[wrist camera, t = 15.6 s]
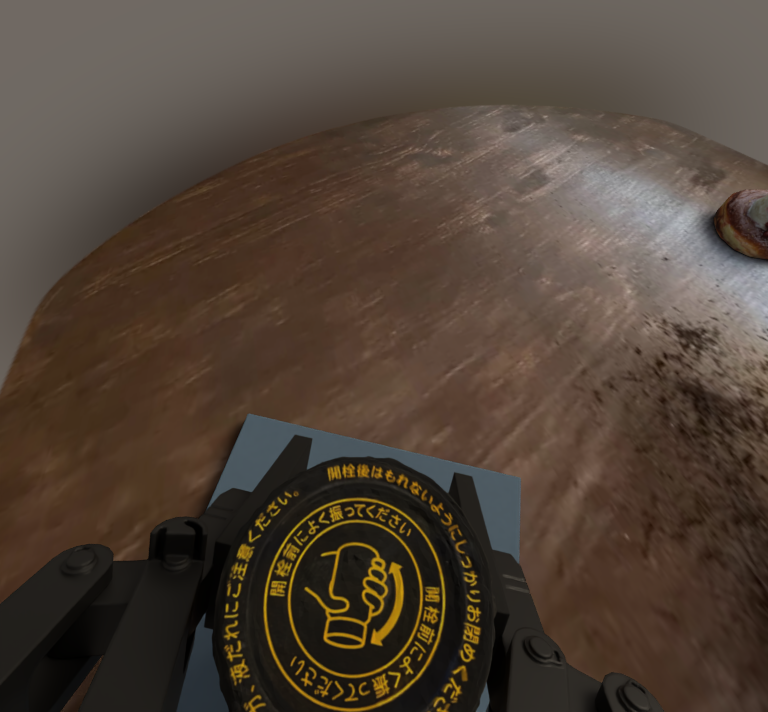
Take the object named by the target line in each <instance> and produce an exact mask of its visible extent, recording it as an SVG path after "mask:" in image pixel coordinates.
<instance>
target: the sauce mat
mask: <svg viewBox="0 0 768 712" xmlns="http://www.w3.org/2000/svg"><path fill="white" fill-rule="evenodd" d="M295 434H296V435H300V436H304V437H308V438H313V439H312V445H311V450H310V455H309V461H308V466H307V469H309V468H311V467H314V466H316V465H317V464H320V463H321V462H325V461H328V460H332V459H335V458H339V457H344V456H345V457H367V456H371V457H374V458H388V457H389V458H393V459H396V460H398V461H400V462H401V463H403V464H404V465H406V466H408V467H410V468H413V469H414V470H416V471H418V472H420V473H423V474H425V475H427V476H428V477H430V478H432V479H433V480H434V481H435V482H436V483H437V484H438V485H439V486H440V487H441V488H442V489H443V490H445V491H446V492H447V493H448V492H449V489H450V485H451V482H452V478H453V475H454V472H456V473H461V474H465V475H469V476H472V477H473V481H474V484H475V488H476V492H477V495H478V499H479V503H480V506H481V510H482V514H483V517H484V521H485V525H486V528H487V532H488V536H489V539H490V543H491V547H492V549H493V550H497V551H501V552H505V553H509V554H511V555H512V556H513V557H514V559H515V560H516V561H517V562H518V564H519V541H520V490H521V479H520V478H519V477H515V476H511V475H506V474H502V473H498V472H494V471H489V470H485V469H481V468H477V467H472V466H468V465H464V464H460V463H456V462H451V461H447V460H443V459H439V458H434V457H430V456H426V455H422V454H417V453H413V452H409V451H405V450H401V449H396V448H392V447H388V446H384V445H379V444H375V443H371V442H367V441H362V440H358V439H354V438H350V437H346V436H341V435H337V434H333V433H329V432H324V431H320V430H316V429H312V428H308V427H303V426H299V425H295V424H291V423H286V422H282V421H278V420H274V419H269V418H265V417H261V416H257V415H253V414H248V415H247V417H246V420H245V422H244V424H243V427H242V429H241V431H240V433H239V436H238V438H237V440H236V443H235V445H234V447H233V450H232V452H231V454H230V457H229V459H228V461H227V463H226V466H225V468H224V470H223V473H222V475H221V477H220V480H219V482H218V484H217V486H216V489H215V491H214V493H213V496H212V498H211V500H210V503H209V505H208V507H209V506H211V504H212V503H213V502H214V501H215V500H216V498H217V497H218V496H219V495H220V494H222V493H224V492H226V491H228V490H230V489H231V488H237V489H241V490H245V491H249V492H252V491H253V490H254V489H255V487H256V486H257V485H258V483H259V482H260V481H261V479H262V478H263V477H264V475H265V474H266V473H267V471H268V470H269V469H270V467H271V466H272V465H273V463H274V462H275V461H276V459H277V458H278V457H279V455H280V454H281V452H282V451H283V450H284V448H285V447H286V446H287V444H288V443H289V442H290V440H291V439H292V438H293V436H294V435H295ZM208 507H207V509H208ZM207 509H206V510H207ZM205 615H206V613H205V614H204V616H203V618H202V619H201V621H200V622H199V624H198V626H197V627H196V633H195V641H194V645H193V649H192V653H191V656H190V660H189V664H188V668H187V672H186V676H185V680H184V684H183V688H182V692H181V696H180V700H179V703H178V707H177V711H176V712H229V710H228V706H227V703H226V701H225V698H224V696H223V694H222V692H221V690H220V685H219V674H218V671H217V668H216V665H215V661H214V658H213V652H212V633H213V630H212V629H208V628H204V623H205ZM489 701H490V700H489V694H488V688H487V682H486V685H485V688H484V691H483V693H482V695H481V698H480V705H479V707H478V708H477V710H476V712H486V709H487V707H488V704H489Z"/></svg>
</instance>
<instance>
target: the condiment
mask: <svg viewBox="0 0 768 712" xmlns="http://www.w3.org/2000/svg"><path fill="white" fill-rule="evenodd" d="M492 580H493V579H492V577H491V571H490V566H489V562H488V559H487V557H486V555H485V553H484V549H483V547H482V545H481V542H480V540H479V538H478V536H477V534H476V532H475V530H474V528H473V527H472V525H471V524H470V522H469V520H468V519H467V517H466V515H465V514H464V512H463V511H462V509H461V508H460V507H459V506H458V504H457V503H456V502H455V500H454V499H453V498H452V497H451V496H450V494H449V493H447V492H446V491H445V490H443V489H442V488H441V487H440V486H439V485H438V484H437V483H436V482H435V481H434V480H433V479H432V478H430V477H428V476H427V475H425V474H423V473H420V472H418V471H416V470H414V469H413V468H410V467H408V466H406V465H404V464H403V463H401V462H400V461H398V460H396V459H393V458H389V457H388V458H374V457H371V456H367V457H345V456H344V457H339V458H335V459H332V460H328V461H325V462H321V463H320V464H317V465H316V466H314V467H311V468H309V469H307V470H304V471H301V472H300V473H298V474H297V475H295V476H294V477H292V478H290V479H288V480H287V481H285V482H283V483H282V484H281V485H279V486H278V487H277V488H275V489H274V490H273V491H272V492H271V493H270V494H269V496H268V497H267V499H266V500H265V501H264V503H263V504H262V505H261V506H260V507H259V508H257V509H256V510H255V511H254V513H253V515H252V516H251V517H250V519H249V520H248V521H247V522H246V523H245V524H244V525H243V526H242V527H241V528H240V529H239V531H238V533H237V535H236V537H235V539H234V541H233V543H232V545H231V547H230V550H229V552H228V555H227V558H226V561H225V564H224V567H223V570H222V573H221V578H220V582H219V587H218V591H217V595H216V600H215V605H216V606H215V615H214V628H213V633H212V652H213V658H214V661H215V665H216V668H217V671H218V674H219V685H220V690H221V692H222V694H223V696H224V698H225V701H226V703H227V706H228V710H229V712H476V710H477V708H478V707H479V705H480V697H481V695H482V693H483V691H484V688H485V685H486V682H487V679H488V675H489V671H490V666H491V661H492V651H493V647H494V641H495V628H494V618H495V615H496V612H497V608H496V604H495V597H494V595H493V593H492Z"/></svg>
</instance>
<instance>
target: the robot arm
mask: <svg viewBox="0 0 768 712" xmlns="http://www.w3.org/2000/svg"><path fill="white" fill-rule="evenodd" d="M312 439H313V438H308V437H304V436H300V435H296V434H295V435H294V436H293V438H292V439H291V440H290V442H289V443H288V444H287V446H286V447H285V448H284V450H283V451H282V452H281V454H280V455H279V457H278V458H277V459H276V461H275V462H274V463H273V465H272V466H271V467H270V469H269V470H268V471H267V473H266V474H265V475H264V477H263V478H262V479H261V481H260V482H259V483H258V485H257V486H256V487H255V489H254V490H253V491H252V492H249V491H245V490H241V489H237V488H231V489H230V490H228V491H226V492H224V493H222V494H220V495H219V496H218V497H217V498H216V500H215V501H214V502H213V503H212V504H211V506H209V507H208V509H207V510H206V511H205V512H204V514H203V515H201V517H200V518H199V519H197V518H193V517H175V518H172V519H169V520H166V521H164V522H162V523H161V524H159V525H157V526H156V527H155V528H154V530H153V531H152V532H151V534H150V546H149V558H148V559H147V560H138V561H113V552H112V551H111V550H110V548H108V547H106V546H103V545H101V544H86V545H81V546H76V547H73V548H71V549H68V550H66V551H63V552H62V553H60V554H59V555H57V556H56V557H54V558H53V559H52V560H51V561H49V562H48V563H47V564H46V565H45V566H44V567H42V568H41V569H40V570H39V571H38V572H37V573H36V574H34V575H33V576H32V577H31V578H30V579H29V580H27V581H26V582H25V583H24V584H23V585H22V586H20V587H19V588H18V589H17V590H16V591H15V592H14V593H12V594H11V595H10V596H9V597H8V598H7V599H5V600H4V601H3V602H2V603H1V604H0V712H60V711H61V710H62V709H63V707H64V706H65V705H66V703H67V702H68V701H69V699H70V698H71V697H72V695H73V694H74V692H75V691H76V690H77V688H78V687H79V686H80V684H81V683H82V682H83V680H84V679H85V678H86V676H87V675H88V674H89V672H90V671H91V670H92V668H93V667H94V666H95V664H96V663H97V661H98V660H99V659H100V657H101V656H102V655H104V657H103V659H102V661H101V663H100V665H99V667H98V670H97V672H96V674H95V676H94V678H93V680H92V682H91V685H90V687H89V689H88V691H87V693H86V695H85V697H84V700H83V702H82V704H81V706H80V708H79V710H78V712H176V711H177V707H178V703H179V700H180V696H181V692H182V688H183V684H184V680H185V676H186V672H187V668H188V664H189V660H190V656H191V653H192V649H193V645H194V641H195V633H196V627H197V626H198V624H199V622H200V621H201V619H202V618H203V616H204V614H205V613H206V615H205V623H204V628H208V629H212V630H213V628H214V615H215V606H216V605H215V600H216V595H217V591H218V587H219V582H220V578H221V573H222V570H223V567H224V564H225V561H226V558H227V555H228V552H229V550H230V547H231V545H232V543H233V541H234V539H235V537H236V535H237V533H238V531H239V529H240V528H241V527H242V526H243V525H244V524H245V523H246V522H247V521H248V520H249V519H250V517H251V516H252V515H253V513H254V511H255V510H256V509H257V508H259V507H260V506H261V505H262V504H263V503H264V501H265V500H266V499H267V497H268V496H269V494H270V493H271V492H272V491H273V490H274V489H275V488H277V487H278V486H279V485H281V484H282V483H283V482H285V481H287V480H288V479H290V478H292V477H294V476H295V475H297V474H298V473H300V472H301V471H304V470H307V466H308V461H309V455H310V450H311V445H312ZM448 493H449V494H450V496H451V497H452V498H453V499H454V500H455V502H456V503H457V504H458V506H459V507H460V508H461V509H462V511H463V512H464V514H465V515H466V517H467V519H468V520H469V522H470V524H471V525H472V527H473V528H474V530H475V532H476V534H477V536H478V538H479V540H480V542H481V545H482V547H483V549H484V553H485V555H486V557H487V559H488V562H489V566H490V571H491V577H492V579H493V580H492V593H493V595H494V597H495V604H496V608H497V612H496V615H495V618H494V628H495V641H494V647H493V651H492V661H491V666H490V671H489V675H488V679H487V688H488V694H489V700H490V701H489V704H488V707H487V709H486V712H664V710H663V709H662V707H661V706H660V704H659V703H658V701H657V700H656V699H655V697H654V696H653V695H652V694H651V693H650V692H649V691H648V690H647V689H646V688H645V687H643V686H642V685H641V684H639V683H638V682H637V681H635V680H634V679H632V678H630V677H628V676H626V675H623V674H621V673H613V672H612V673H609V674H607V675H605V677H604V679H603V682H602V683H601V682H599V681H597V680H595V679H593V678H591V677H589V676H588V675H586V674H584V673H582V672H580V671H578V670H577V669H575V668H574V667H572V666H570V665H569V664H568V663H566V659H565V656H564V654H563V653H562V651H561V649H560V648H559V646H558V645H557V644H556V643H555V642H554V641H553V640H552V639H551V638H550V637H549V636H547V635H546V634H545V633H544V631H543V628H542V625H541V622H540V619H539V616H538V614H537V611H536V608H535V605H534V602H533V599H532V597H531V594H529V592H530V591H529V588H528V585H527V583H526V580H525V577H524V574H523V571H522V568H521V566H520V565H519V564H518V562H517V561H516V560H515V559H514V557H513V556H512V555H511V554H509V553H505V552H501V551H497V550H493V549H492V547H491V543H490V539H489V536H488V532H487V528H486V525H485V521H484V517H483V514H482V510H481V506H480V503H479V499H478V495H477V492H476V488H475V484H474V481H473V477H472V476H469V475H465V474H461V473H456V472H454V475H453V478H452V482H451V485H450V489H449V492H448ZM480 698H481V697H480Z"/></svg>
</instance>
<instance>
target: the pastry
mask: <svg viewBox="0 0 768 712" xmlns="http://www.w3.org/2000/svg"><path fill="white" fill-rule="evenodd" d="M714 223H715V228H716V231H717V232H718V234H719V236H720V238H721V239H723V240H724V241H725V242H726V243H727V244H728V245H729V246H730V247H732V248H733V249H734V250H736V251H738V252H741V253H743V254H745V255H747V256H749V257H754V258H762V259H768V190H743V191H740V192H737V193H734V194H732V195H731V196H730V197H729V198H728V199H727V200H726V201H725V202H724V203H723V205H722V206H721V207H720V208H719V209H718V210H717V212H716V215H715V217H714Z"/></svg>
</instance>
